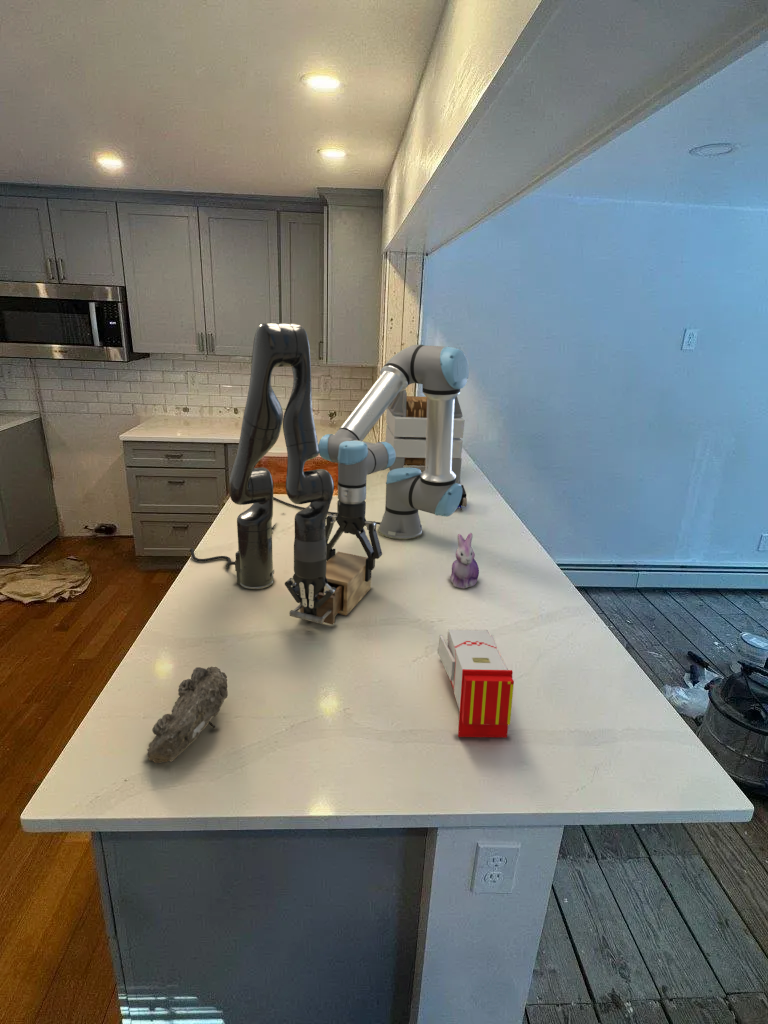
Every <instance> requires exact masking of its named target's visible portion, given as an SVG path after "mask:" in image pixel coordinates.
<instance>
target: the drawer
mask: <svg viewBox="0 0 768 1024" xmlns="http://www.w3.org/2000/svg"><path fill="white" fill-rule="evenodd" d="M327 584H328V585H329V586H330V587H331V588H332V587H335V588H336V591H335V592H334V593H333V594H332V595H331V596H330V597H329V598H328V599H327V600H326V601H325V602H324V603H323V604H322V605H321V606H320V607H319V608H317V615H316V616H314V615H310V614H306V613H304V606H303V604H301V603H299V605H297V606H296V607H295V608H294V609H291V610H290V611H289V617H292V618H296V619H300V620H304V621H309V622H312V623H317V624H319V625H323V623H325V624H329V625H334V624H335V623H336V616H337V615H339V614H338V613H339V612H340V610H341V609H342V608H343V603H344V585H339V584H335V583H330V582H328V583H327ZM323 596H324V588H323V589H322V590H321V591H320V593H319V596H318V600H319V599H321V598H322V597H323Z"/></svg>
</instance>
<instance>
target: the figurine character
mask: <svg viewBox="0 0 768 1024" xmlns="http://www.w3.org/2000/svg"><path fill="white" fill-rule="evenodd" d="M460 485H461V486H462V497H461V501H460V503H459V505H458V507H457V509H460V511H463V507H464V508H465V507H467V503H468V498H467V492H466V489H465V487H464V484H460Z"/></svg>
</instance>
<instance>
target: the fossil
mask: <svg viewBox="0 0 768 1024" xmlns="http://www.w3.org/2000/svg"><path fill="white" fill-rule="evenodd" d="M228 687H229V686H228V676H227V674H226V673H225V672H223V671H221V668H219V667H218V666H207V668H205V667H200V666H197V667H195V668H194V669H193V671H192V673H191V675H190V678H187V679H183V680H182V681H181V682H180V684H178V690H177V691H178V697H177V699H176V701H175V702H174V705H173V706H172V708H171V714H170V713H165V714H164V715H162V717H161V718H159V719H157V721H156V722H155V724H154V725H153V727H152V730H151V731H152V733H153V735H155V736H154V737H153V739H152V740H151V742H149V743H148V748H147V749H146V750H147V752H146V755H147V758H148V761H152V762H154V763H155V764H161V763H167V762H171V763H172V762H173V761H174V760H175V759H176V758H178V756H180V755H181V754H182V753H183V752H184V751H186V750H187V748H188V747H189V746H191V744H192V743H193V742H194V741H196V740H197V739H198V738H199V736H200V735H201V733H202V731H204V730H205V728H207V726H208V725H209V726H210V727H211V728H212V729H216V725H215V724H214V723H213V722H212V721H211V720H212V718H214V717H215V718H216V716H217V715H218V713H219V712H220V711H221V710H220V709H221V707H222V706H223V704H224V701H225V700H226V699H227V698H228V695H229V692H228Z"/></svg>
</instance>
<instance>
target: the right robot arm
mask: <svg viewBox="0 0 768 1024" xmlns="http://www.w3.org/2000/svg"><path fill="white" fill-rule="evenodd" d="M465 354H466V353H465V352H464V351H463V350H461V349H459V348H457V347H450V346H443V345H424V344H413V345H410V346H408V347H405V348H403V349H401V350H400V351H398V352H397V353H395V354H394V355H393V356H391V358H389V360H388V361H387V362H385V364H384V365H383V366H382V368H381V369H380V371H379V375H380V376H379V377H378V378H377V379H376V380H375V382H374V384H373V385H372V386H371V387H370V388H369V389H368V391H367V392H366V394H365V395H364V396H363V397H362V399H361V400H360V401H359V403H358V404H357V405H356V406H355V408H354V409H353V410H352V411H351V412H350V414H349V415H348V416H347V418H346V419H345V420H344V422H343V424H341V426H340V427H339V428H338V430H337V431H336V432H335V433H334V434H333V433H327V434H325V435H322V437H321V438H320V439H319V440H318V445H319V456H320V458H321V459H323V460H326V461H328V462H331V463H336V464H337V503H336V505H337V507H336V508H337V509H336V511H337V512H335V511H328V514H329V515H328V514H327V517H326V535H325V536H326V546H327V548H326V550H327V555H326V561H328V560H329V559H330V558H331V557H332V556H334V555H335V554H336V548H334V546H335V545H336V543H337V542H338V541H339V539H340V538H341V536H342V535H343V533H344V534H349V535H353V536H355V537H356V538H357V539H358V541H359V542H360V544H361V547H362V549H363V550H364V552H365V555H366V557H368V558H367V559H366V571H365V581H366V582H368V581H369V580H370V579H371V580H372V573H373V572H372V571H373V570H374V569H375V568H376V560H378V559H380V558H381V557H382V555H383V550H382V547H381V543H380V540H379V539H380V538H379V536H378V533H379V534H380V535H381V536H382V537H385V538H387V539H389V540H395V541H410V540H415V539H418V538H420V537H421V536H422V535H423V525H422V524H421V518H420V515H419V511H421V512H425V513H428V514H431V515H435V516H440V517H450V516H452V515H453V514H454V513H455V512H456V511H457V509H458V508H457V507H458V505H459V503H460V501H461V497H462V486H461V485H462V484H460V483H456V475H455V473H454V472H453V471H452V451H453V429H454V407H455V397H456V396H457V397H458V396H459V395H460V394H461V389H463V388H464V387H465V386H466V385H467V383H468V379H469V375H470V365H469V360H468V358H467V356H466V355H465ZM412 384H419V385H422V386H421V387H422V388H421V389H422V391H421V393H422V394H423V395H424V397H427V421H426V461H425V466H424V467H425V468H424V470H423V471H422V470H421V469H420V468H418V467H404V468H398V469H394V470H391V471H390V470H388V472H387V475H386V480H385V504H384V505H385V507H384V508H385V509H384V513H383V515H382V519H381V522H378V521H375V520H374V521H372V520H367V519H366V507H367V505H366V504H367V503H366V502H367V501H365V500H366V499H367V477H368V476H369V475H371V474H374V473H377V472H382V471H384V470H386V469H388V468H390V466H392V465H393V464H394V462H395V458H396V453H395V450H394V448H393V446H392V445H391V444H389V443H387V442H386V441H377V442H369V441H364V440H365V439H366V437H367V435H368V434H369V433H370V432H371V430H372V429H373V427H374V426H375V425H376V424H377V422H378V421H379V420H380V419H381V418H382V416H383V414H385V411H387V408H388V406H389V405H390V404H391V402H392V401H393V400H394V398H395V397H396V396H397V394H398V393H399V392H400V391H403V390H406V389H407V388H408V387H409V385H412ZM273 500H275V501H277V502H279V503H281V504H284V505H286V506H290V507H293V508H296V509H300V510H303V509H305V508H306V507H303V506H300V505H297V504H292V503H289V502H287V501H284V500H281V499H279V498H276V497H274V496H273ZM335 523H337V525H338V526H339V527H338V528H337V530H336V532H335V533H334V535H332V538H331V539H330V536H331V533H332V531H333V527H334V524H335ZM377 525H379V527H378V532H377ZM364 527H366V530H367V531H368V536H369V538H368V536H367V534H366V533H367V532H366V530H365V528H364ZM329 540H330V541H329Z"/></svg>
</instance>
